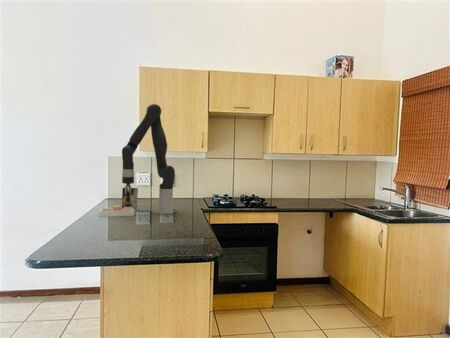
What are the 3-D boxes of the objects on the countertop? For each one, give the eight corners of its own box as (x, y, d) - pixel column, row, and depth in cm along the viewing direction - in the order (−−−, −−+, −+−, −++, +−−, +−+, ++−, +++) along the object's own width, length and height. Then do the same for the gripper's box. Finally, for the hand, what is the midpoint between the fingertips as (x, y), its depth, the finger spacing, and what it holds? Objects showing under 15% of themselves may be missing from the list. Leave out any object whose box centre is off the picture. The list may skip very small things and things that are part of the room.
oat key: (131, 211, 213) (131, 207, 212) (131, 212, 208) (131, 208, 208) (123, 211, 211) (123, 207, 211) (123, 213, 206) (123, 208, 206)
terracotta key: (121, 210, 210) (121, 205, 210) (121, 211, 205) (121, 207, 205) (113, 210, 209) (113, 205, 209) (112, 211, 204) (113, 207, 204)
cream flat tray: (133, 213, 214) (133, 208, 214) (134, 215, 207) (134, 210, 207) (100, 214, 208) (100, 209, 207) (99, 216, 200) (99, 211, 200)
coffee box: (121, 210, 225) (121, 187, 225) (126, 209, 232) (126, 187, 231) (132, 211, 223) (133, 188, 223) (137, 209, 229) (138, 187, 229)
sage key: (110, 211, 208) (111, 207, 208) (110, 213, 203) (110, 208, 203) (102, 212, 207) (102, 207, 207) (102, 213, 202) (102, 208, 202)
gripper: (134, 176, 204) (134, 203, 205) (133, 175, 216) (133, 200, 217) (122, 176, 201) (122, 203, 202) (122, 175, 214) (122, 200, 215)
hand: (128, 202), depth 210 cm, fingers closed
